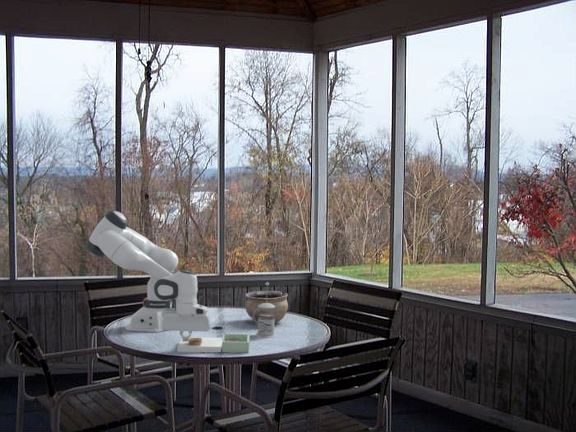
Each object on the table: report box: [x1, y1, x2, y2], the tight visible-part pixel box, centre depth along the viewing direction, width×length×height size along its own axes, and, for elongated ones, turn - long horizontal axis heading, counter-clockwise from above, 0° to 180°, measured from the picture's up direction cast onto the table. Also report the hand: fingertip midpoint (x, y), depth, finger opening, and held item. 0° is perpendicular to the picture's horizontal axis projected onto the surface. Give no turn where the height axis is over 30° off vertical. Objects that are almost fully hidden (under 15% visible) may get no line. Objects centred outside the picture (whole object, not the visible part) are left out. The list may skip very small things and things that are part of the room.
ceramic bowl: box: [245, 290, 289, 324], centre depth 330 cm, size 22×22×15 cm
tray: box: [221, 333, 251, 354], centre depth 277 cm, size 11×15×4 cm
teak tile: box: [189, 337, 203, 345], centre depth 272 cm, size 5×5×2 cm
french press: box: [252, 282, 277, 339], centre depth 301 cm, size 10×12×25 cm
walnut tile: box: [227, 339, 239, 342], centre depth 280 cm, size 5×5×2 cm
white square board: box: [176, 336, 224, 353], centre depth 276 cm, size 18×16×2 cm
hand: (185, 341), depth 272 cm, fingers closed
